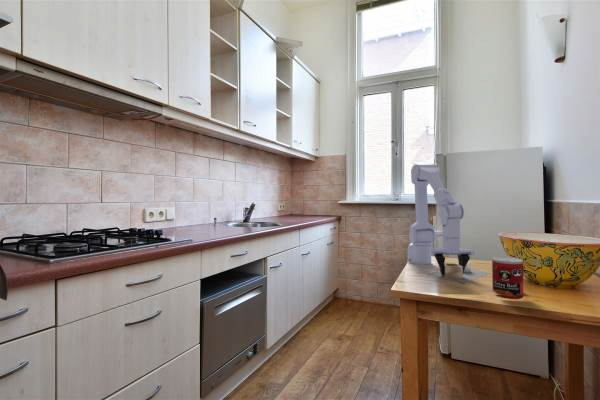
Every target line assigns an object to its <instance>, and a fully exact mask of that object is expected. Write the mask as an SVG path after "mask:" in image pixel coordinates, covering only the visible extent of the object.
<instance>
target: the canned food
mask: <svg viewBox="0 0 600 400" xmlns="http://www.w3.org/2000/svg"><path fill="white" fill-rule="evenodd" d="M491 266H492V267H491V274H492V276H491V277H492V282H491V283H492V291H493V292H494V293H497V294H495V296H496V297H499V298H503V299H507V300H520V299H522V298H523V295H524V260H523V259H521V258H518V257H511V256H494V257H492V259H491Z"/></svg>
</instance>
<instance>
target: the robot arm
mask: <svg viewBox="0 0 600 400" xmlns="http://www.w3.org/2000/svg"><path fill="white" fill-rule="evenodd" d="M440 173H441V169H440V167H439V164H437V163H414V164H413V166H412V167H411V169H410V178H411V184H413V185H414V200H415V201H414V204H415V222H414V223H413V224H412V225H410V226H409V233H408V239H409V241H410V244H408V245H407V261H406V263H407V264H419V265H430V264H432V256H434V257H435V260H436V262H437V264H438V267H439V270H440V272H441V274H442V275H444V274H445V270H444V264H445V263H446V257H445V255H449V256H451V255H452V256H454V255H455V256H457V259H458V262H457V263H458V264H459V265H461V266H462V267H463V273H464V269H465V266H466V264H467V263H468V262H470V258H471V256H475V249H473V248H461V220H462V219H463V217H464V214H465V212H464V211H465V210H464V208H463V205H462V204H461V203H459V202H458V201H456V200H455V199H454V198H453V196H452V194H451V192H450V190H449V189H448V188H445V186H444V185H443V182H442V179H441V177H440ZM428 185H429V186H430V187H431V188H432V190H433V192H434V193H433V198H434V200H435V201H436V204H437V206H438V208H439V210H438V215H439V218H440V223H441V225H442V247H441V248H440V247H438V248H432V246H433V244H434V243H435V242H436V239H437V234H436V231H435V226H434V225H433V224H432V223H430V222H429V207H428V206H429V205H428V204H429V203H428ZM408 262H409V263H408Z"/></svg>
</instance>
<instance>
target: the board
mask: <svg viewBox="0 0 600 400" xmlns="http://www.w3.org/2000/svg"><path fill="white" fill-rule="evenodd" d="M490 274H491V272H490V271H489V272H488V271H483V270H477V269H472V268H471V272H468V273H466V272H464V273H463V278H446V277H445V276H443V275H442V274H441V272H440V269H439V270H435V271H431V272H429V273H426V275H428V276H432V277H436V278H441V279H446V280H450V281H454V282H460V283H468V282H471V281H474V280H475V279H479V278H481V277H482V278H483V277H484V276H487V275H490Z"/></svg>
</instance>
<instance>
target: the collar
mask: <svg viewBox="0 0 600 400" xmlns="http://www.w3.org/2000/svg"><path fill="white" fill-rule="evenodd" d="M444 270H445V274H444V275H443V276H445V277H446V278H463V267H462V266H461V265H459V262H445V264H444Z"/></svg>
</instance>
